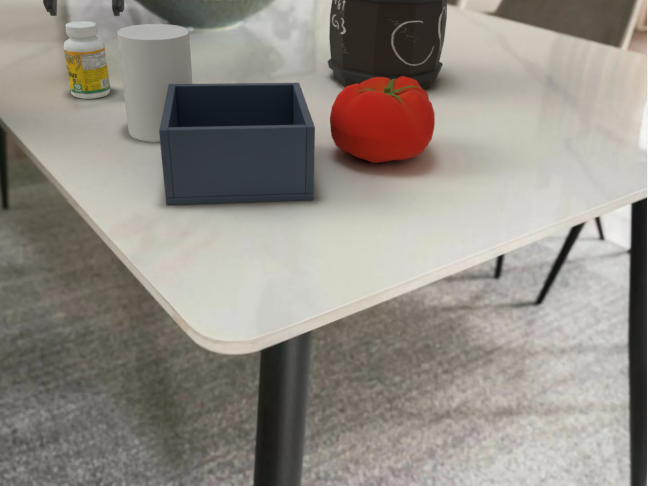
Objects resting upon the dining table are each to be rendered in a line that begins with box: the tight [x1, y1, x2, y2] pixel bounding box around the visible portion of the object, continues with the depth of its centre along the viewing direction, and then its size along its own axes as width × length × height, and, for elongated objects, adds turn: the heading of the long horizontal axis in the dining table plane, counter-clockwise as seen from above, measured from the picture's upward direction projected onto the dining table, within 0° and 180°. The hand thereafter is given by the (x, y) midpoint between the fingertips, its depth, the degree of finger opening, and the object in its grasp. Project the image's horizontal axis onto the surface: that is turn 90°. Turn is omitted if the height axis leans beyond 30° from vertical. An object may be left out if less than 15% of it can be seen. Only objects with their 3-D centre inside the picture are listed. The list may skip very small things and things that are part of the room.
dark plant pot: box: [327, 0, 448, 91], centre depth 103 cm, size 18×18×16 cm
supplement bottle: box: [63, 20, 111, 100], centre depth 94 cm, size 5×5×10 cm
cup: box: [116, 23, 193, 143], centre depth 82 cm, size 8×8×12 cm
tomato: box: [329, 76, 436, 164], centre depth 78 cm, size 13×12×8 cm
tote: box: [159, 82, 316, 206], centre depth 72 cm, size 15×15×8 cm
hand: (84, 12), depth 94 cm, fingers open, 8 cm apart
